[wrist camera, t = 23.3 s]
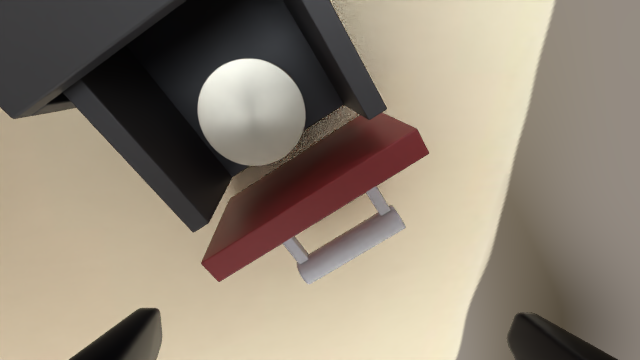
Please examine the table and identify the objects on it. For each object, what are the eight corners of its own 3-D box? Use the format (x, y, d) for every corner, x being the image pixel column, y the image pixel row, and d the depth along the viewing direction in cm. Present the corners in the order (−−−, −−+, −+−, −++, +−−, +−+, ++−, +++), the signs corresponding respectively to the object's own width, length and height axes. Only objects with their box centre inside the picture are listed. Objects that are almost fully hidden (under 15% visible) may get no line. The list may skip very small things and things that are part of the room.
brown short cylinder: (314, 86, 16) (324, 91, 12) (280, 155, 17) (278, 181, 13) (239, 44, 15) (222, 35, 11) (208, 121, 16) (181, 138, 12)
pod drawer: (412, 180, 20) (470, 233, 13) (280, 260, 21) (277, 343, 14) (255, -103, 14) (229, -244, 8) (86, 26, 15) (-59, -4, 9)
